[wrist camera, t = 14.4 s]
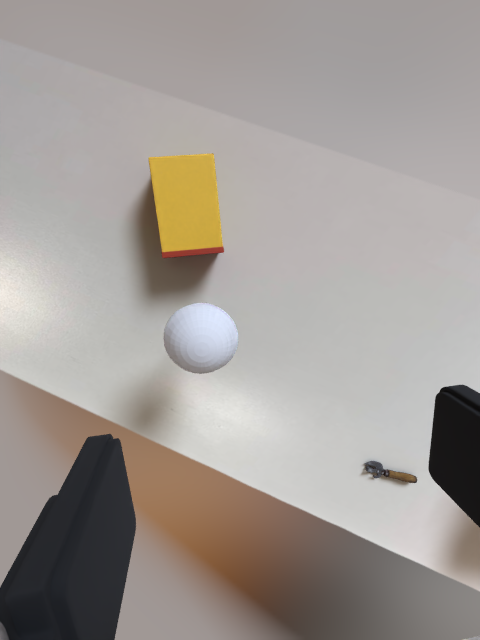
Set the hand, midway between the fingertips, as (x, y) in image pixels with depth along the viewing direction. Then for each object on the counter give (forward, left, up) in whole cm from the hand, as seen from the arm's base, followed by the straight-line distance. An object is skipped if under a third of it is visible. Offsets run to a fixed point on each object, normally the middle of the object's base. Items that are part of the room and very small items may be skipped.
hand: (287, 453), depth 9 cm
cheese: (-9, -2, -30) cm, 32 cm away
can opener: (+30, +23, -31) cm, 48 cm away
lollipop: (+2, -2, -31) cm, 31 cm away
